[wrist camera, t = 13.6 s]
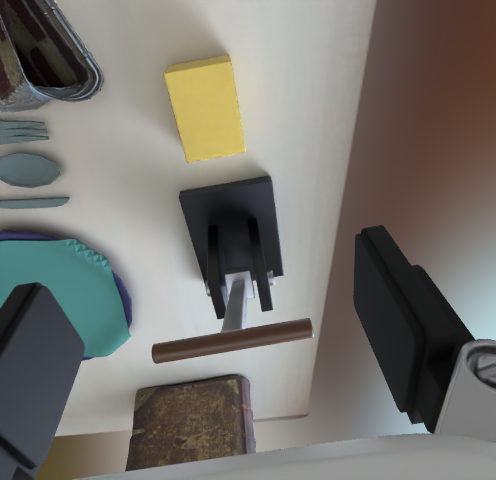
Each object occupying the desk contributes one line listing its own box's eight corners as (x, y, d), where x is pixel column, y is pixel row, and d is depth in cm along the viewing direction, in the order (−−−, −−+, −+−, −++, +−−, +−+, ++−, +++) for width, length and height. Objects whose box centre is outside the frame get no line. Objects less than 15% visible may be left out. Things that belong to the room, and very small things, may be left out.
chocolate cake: (-99, -46, 24) (-93, 119, 22) (-42, -114, 21) (-30, 70, 19) (39, 35, 33) (51, 159, 31) (93, -5, 30) (110, 129, 28)
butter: (229, 54, 29) (230, 60, 26) (242, 138, 33) (245, 152, 30) (167, 65, 29) (163, 73, 26) (189, 148, 33) (187, 162, 30)
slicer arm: (147, 334, 17) (156, 381, 18) (309, 306, 17) (317, 354, 18) (195, 274, 33) (200, 299, 33) (280, 260, 33) (284, 285, 33)
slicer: (179, 191, 35) (169, 250, 27) (270, 175, 35) (287, 229, 27) (206, 281, 42) (204, 350, 34) (282, 268, 42) (298, 334, 34)
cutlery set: (-9, 356, 46) (-19, 372, 44) (-161, 121, 29) (-187, 130, 27) (147, 346, 47) (145, 360, 46) (90, 114, 30) (82, 123, 28)
